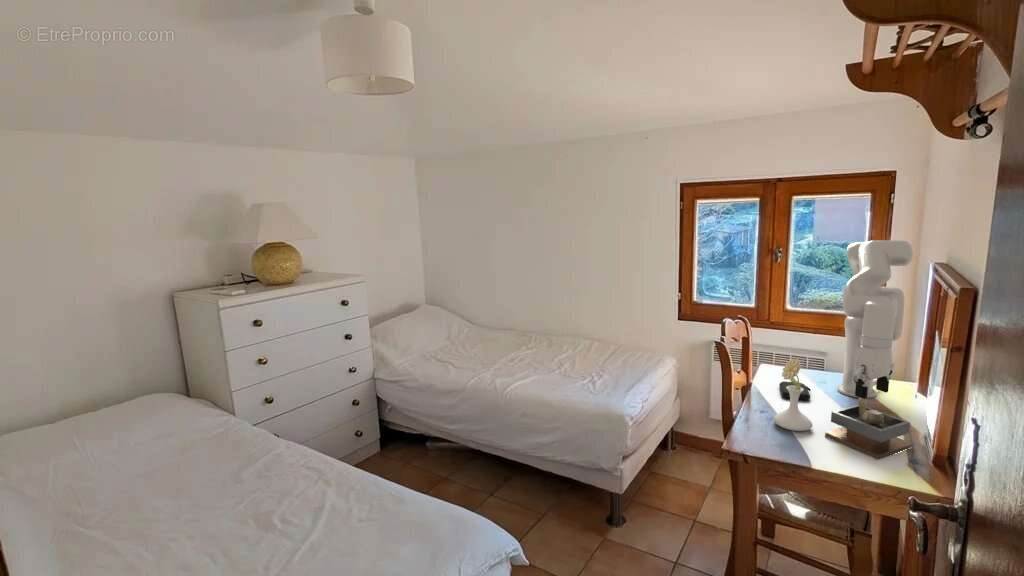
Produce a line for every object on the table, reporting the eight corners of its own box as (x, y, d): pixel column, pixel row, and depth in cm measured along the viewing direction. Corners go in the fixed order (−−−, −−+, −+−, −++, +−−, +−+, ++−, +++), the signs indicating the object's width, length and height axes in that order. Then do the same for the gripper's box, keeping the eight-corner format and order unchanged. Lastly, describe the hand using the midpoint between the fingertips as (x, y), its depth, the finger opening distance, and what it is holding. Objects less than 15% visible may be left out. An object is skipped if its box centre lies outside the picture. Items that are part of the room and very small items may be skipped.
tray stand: (858, 426, 159) (860, 402, 158) (912, 448, 145) (915, 422, 143) (825, 436, 154) (826, 411, 152) (877, 459, 139) (880, 432, 138)
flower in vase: (773, 417, 169) (777, 349, 165) (811, 422, 164) (815, 353, 159) (773, 432, 158) (777, 360, 153) (813, 439, 152) (819, 365, 148)
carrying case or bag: (813, 403, 179) (808, 389, 192) (814, 396, 179) (809, 382, 192) (781, 400, 184) (778, 386, 197) (781, 392, 183) (779, 379, 196)
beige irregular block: (890, 427, 142) (870, 396, 144) (866, 434, 146) (847, 403, 148) (887, 418, 149) (868, 389, 151) (864, 424, 153) (847, 396, 155)
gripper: (882, 333, 150) (877, 384, 154) (844, 342, 144) (840, 395, 148) (908, 340, 143) (902, 392, 147) (870, 349, 137) (865, 404, 141)
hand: (871, 394), depth 147 cm, fingers open, 9 cm apart
